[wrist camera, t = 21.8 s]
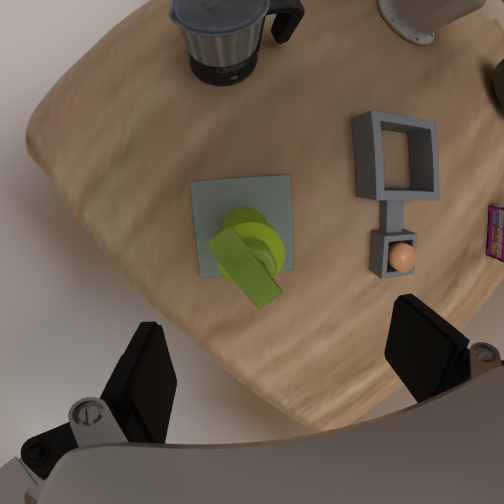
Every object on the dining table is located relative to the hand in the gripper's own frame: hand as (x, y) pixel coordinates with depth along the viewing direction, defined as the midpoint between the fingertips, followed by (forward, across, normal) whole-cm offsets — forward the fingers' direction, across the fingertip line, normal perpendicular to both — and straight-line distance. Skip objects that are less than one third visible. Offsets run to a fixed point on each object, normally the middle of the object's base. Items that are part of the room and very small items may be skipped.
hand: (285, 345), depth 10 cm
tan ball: (+25, -21, +6) cm, 33 cm away
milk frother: (+28, +2, -27) cm, 39 cm away
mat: (+28, +1, +1) cm, 28 cm away
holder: (+28, -21, -3) cm, 35 cm away
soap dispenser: (+27, +1, 0) cm, 27 cm away
